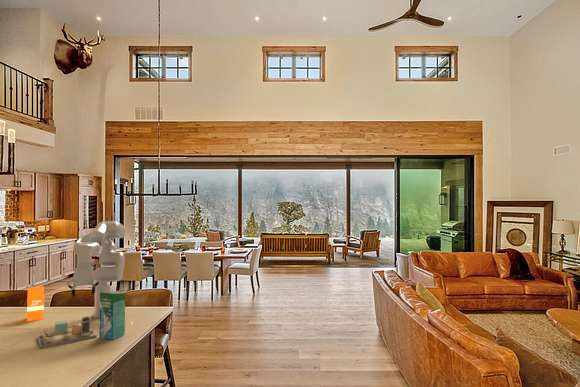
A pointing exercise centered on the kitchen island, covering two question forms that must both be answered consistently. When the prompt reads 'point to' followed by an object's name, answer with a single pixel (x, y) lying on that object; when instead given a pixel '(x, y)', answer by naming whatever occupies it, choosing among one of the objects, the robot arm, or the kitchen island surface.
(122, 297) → the milk carton
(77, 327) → the rounded peach cylinder
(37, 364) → the kitchen island surface
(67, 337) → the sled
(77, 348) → the kitchen island surface
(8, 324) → the kitchen island surface
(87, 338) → the lane frame
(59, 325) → the teal cube
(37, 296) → the orange juice
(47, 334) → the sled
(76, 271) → the robot arm
